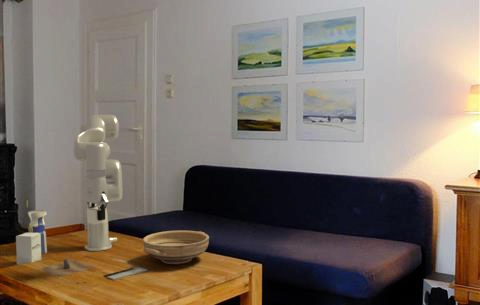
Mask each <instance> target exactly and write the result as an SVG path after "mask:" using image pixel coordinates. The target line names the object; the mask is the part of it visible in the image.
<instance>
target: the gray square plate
mask: <svg viewBox="0 0 480 305" xmlns="http://www.w3.org/2000/svg"><path fill="white" fill-rule="evenodd" d="M145 272H148V269H147V268H144V267H140V266H133V267H131V268H130V267H129V268H127V269H123V270H119V271H115V272H112V273H111V272H110V273H108V274H105V275H104V274H103V276H104V277H103V278H106V277H107V279H109V280H112V281H115V280H116V281H117V280H119V279H123V277H124V278H126V277H130V275H131V276H133V275H138V274H141V273H145ZM137 273H138V274H137Z"/></svg>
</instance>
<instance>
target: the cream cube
mask: <svg viewBox="0 0 480 305" xmlns="http://www.w3.org/2000/svg"><path fill="white" fill-rule="evenodd" d="M97 211H98V207H95V208H88V209H87V208H86V219H87V220H86V222H87V224H88V223H91V224H100V223H106V222H107V211H108V209H107V207H106V210H105V220H100V221H98V217H97Z"/></svg>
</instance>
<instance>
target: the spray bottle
mask: <svg viewBox="0 0 480 305" xmlns="http://www.w3.org/2000/svg"><path fill="white" fill-rule="evenodd" d="M28 207H29V202H28V199H27V200H26V208H28ZM47 215H48V214H47V211H46V210H44V209H37V210H30V211H27V216H28V218H29V219H30V223H29V224H28V225H29V226H28V227H27V228H28V233H41V255H43V254H47V253H48V248H47V247H48V245H47V234H46V233H47V232H46V229H45V228H46V227H45V226H46V223H45V216H47Z"/></svg>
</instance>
